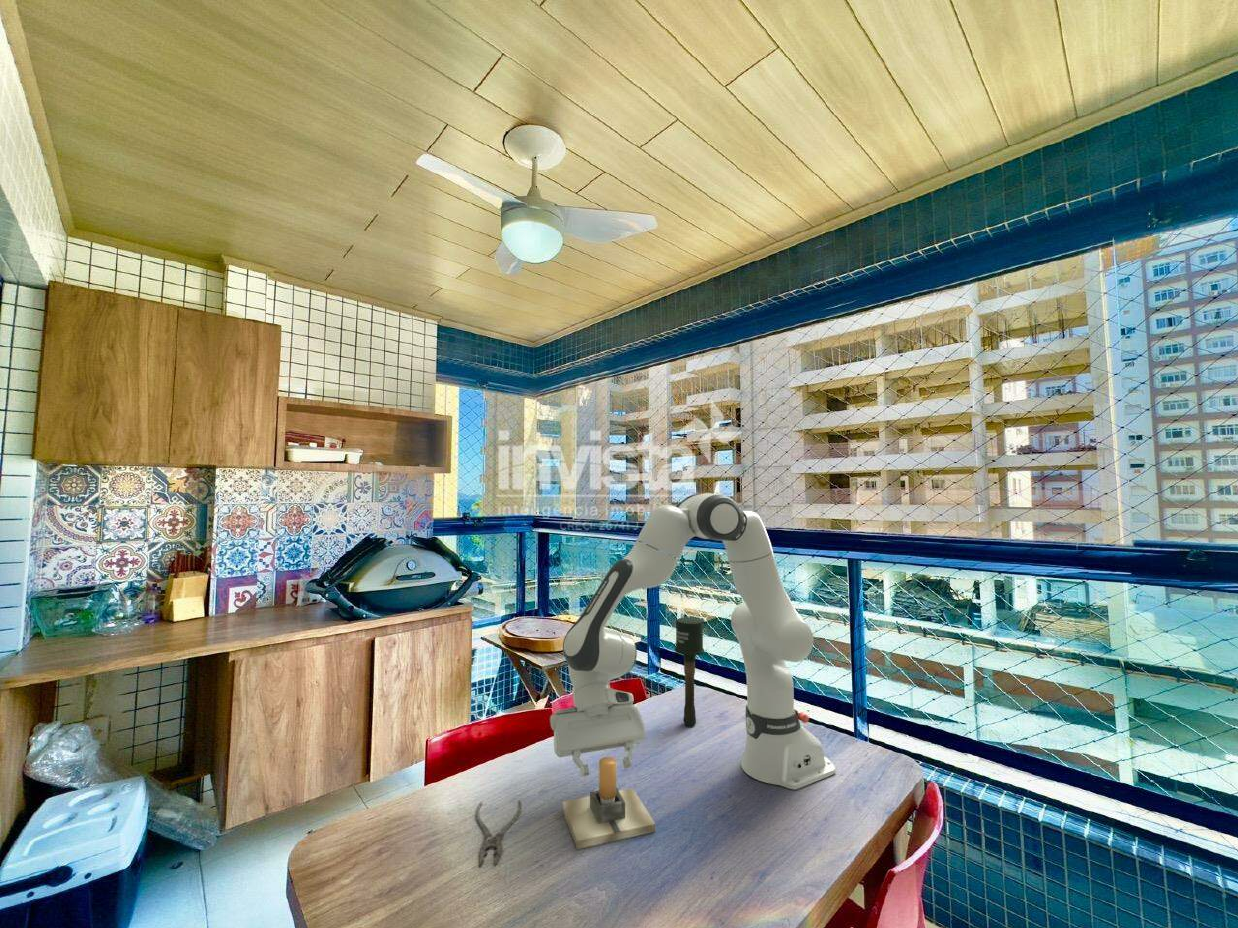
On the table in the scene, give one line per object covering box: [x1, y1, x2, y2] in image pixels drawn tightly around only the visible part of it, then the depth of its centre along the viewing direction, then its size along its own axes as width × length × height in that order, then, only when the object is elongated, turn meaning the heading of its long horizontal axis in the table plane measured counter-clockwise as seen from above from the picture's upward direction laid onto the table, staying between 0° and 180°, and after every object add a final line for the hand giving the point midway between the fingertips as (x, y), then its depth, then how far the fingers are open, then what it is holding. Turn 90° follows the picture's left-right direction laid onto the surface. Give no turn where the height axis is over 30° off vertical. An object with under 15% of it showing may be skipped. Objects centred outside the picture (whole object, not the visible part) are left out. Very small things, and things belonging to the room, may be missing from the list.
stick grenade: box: [674, 616, 705, 728], centre depth 149 cm, size 8×9×30 cm
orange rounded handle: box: [598, 756, 617, 805], centre depth 105 cm, size 4×4×10 cm
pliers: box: [475, 799, 523, 868], centre depth 101 cm, size 10×1×20 cm
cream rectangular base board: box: [561, 787, 656, 850], centre depth 104 cm, size 16×13×4 cm
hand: (607, 771), depth 105 cm, fingers open, 8 cm apart
